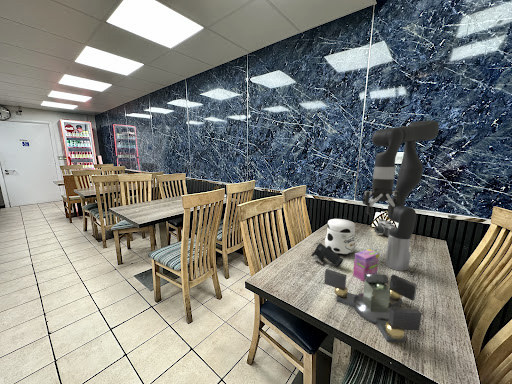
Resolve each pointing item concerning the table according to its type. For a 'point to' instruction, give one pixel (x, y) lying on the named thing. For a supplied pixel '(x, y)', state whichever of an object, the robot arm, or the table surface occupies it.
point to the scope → (326, 255)
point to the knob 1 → (402, 288)
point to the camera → (384, 227)
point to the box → (365, 263)
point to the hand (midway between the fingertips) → (379, 214)
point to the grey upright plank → (336, 282)
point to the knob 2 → (402, 322)
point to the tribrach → (374, 302)
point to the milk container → (340, 236)
